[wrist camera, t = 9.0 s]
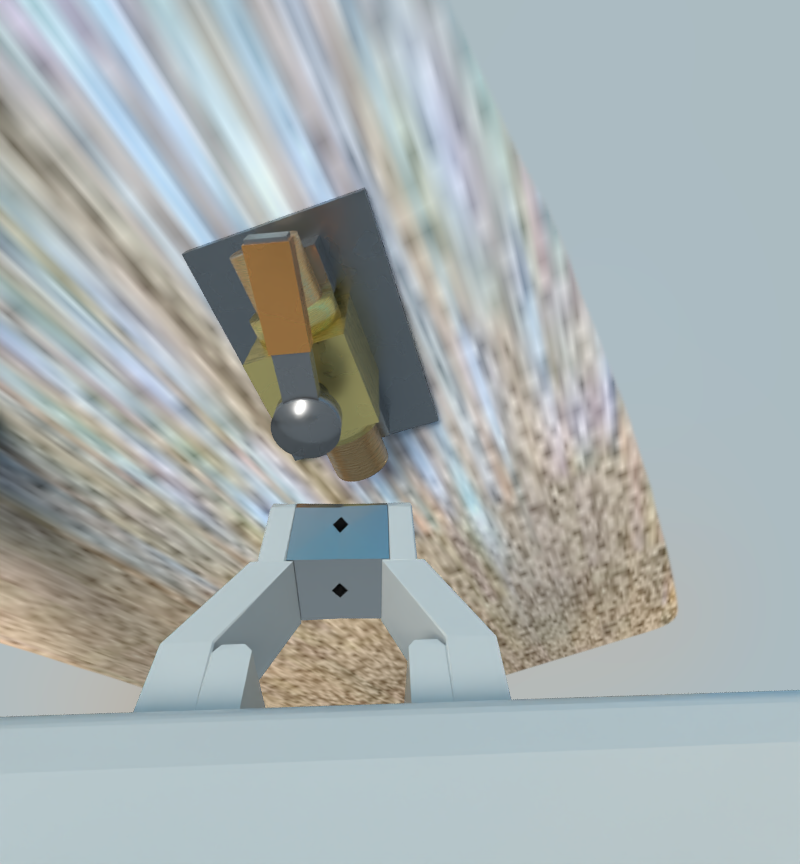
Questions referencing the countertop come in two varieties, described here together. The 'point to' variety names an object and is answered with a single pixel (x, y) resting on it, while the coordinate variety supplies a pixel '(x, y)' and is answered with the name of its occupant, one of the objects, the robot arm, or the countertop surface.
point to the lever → (290, 347)
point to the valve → (330, 325)
